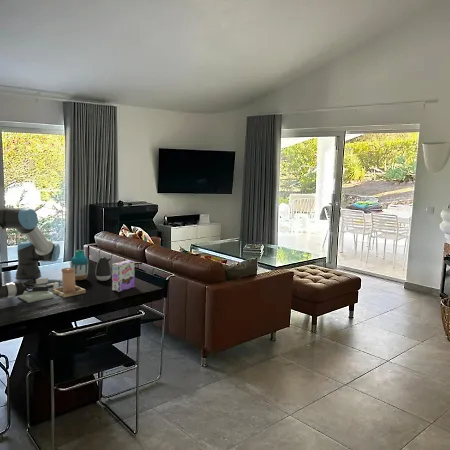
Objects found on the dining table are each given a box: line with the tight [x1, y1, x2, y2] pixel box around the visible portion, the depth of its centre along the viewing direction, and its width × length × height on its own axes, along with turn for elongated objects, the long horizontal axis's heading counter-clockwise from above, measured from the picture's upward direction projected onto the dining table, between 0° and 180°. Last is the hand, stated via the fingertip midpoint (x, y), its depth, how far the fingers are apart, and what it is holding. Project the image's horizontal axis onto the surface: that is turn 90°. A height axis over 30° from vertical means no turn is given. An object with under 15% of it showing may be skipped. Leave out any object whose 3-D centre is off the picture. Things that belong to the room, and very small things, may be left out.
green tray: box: [17, 290, 54, 304], centre depth 253 cm, size 14×14×2 cm
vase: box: [70, 249, 89, 281], centre depth 289 cm, size 11×11×19 cm
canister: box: [61, 267, 76, 294], centre depth 262 cm, size 8×8×14 cm
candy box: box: [111, 259, 136, 293], centre depth 272 cm, size 14×6×16 cm, turn 148°
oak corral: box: [52, 284, 87, 298], centre depth 263 cm, size 14×14×2 cm
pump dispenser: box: [95, 256, 112, 282], centre depth 292 cm, size 10×10×15 cm
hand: (52, 282), depth 255 cm, fingers open, 13 cm apart
